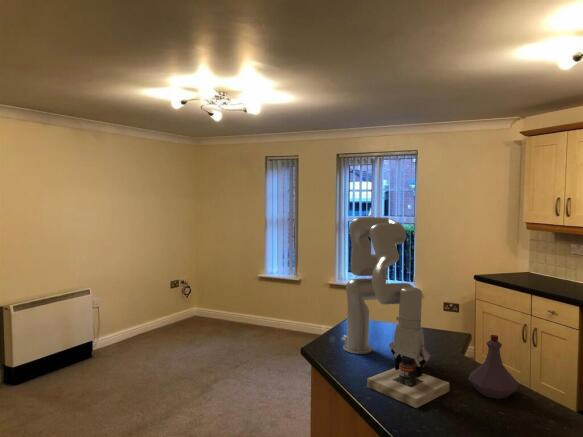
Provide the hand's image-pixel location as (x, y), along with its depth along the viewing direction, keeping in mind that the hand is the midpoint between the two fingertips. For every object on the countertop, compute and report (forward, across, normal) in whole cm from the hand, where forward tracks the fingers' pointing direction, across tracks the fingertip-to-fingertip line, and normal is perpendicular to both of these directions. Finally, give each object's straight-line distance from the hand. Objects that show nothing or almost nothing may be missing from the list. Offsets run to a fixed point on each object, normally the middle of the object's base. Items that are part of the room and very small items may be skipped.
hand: (408, 372), depth 149 cm
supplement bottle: (+6, 0, 0) cm, 6 cm away
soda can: (+6, -10, +20) cm, 23 cm away
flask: (+6, +20, +21) cm, 30 cm away
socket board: (+6, 0, 0) cm, 6 cm away
